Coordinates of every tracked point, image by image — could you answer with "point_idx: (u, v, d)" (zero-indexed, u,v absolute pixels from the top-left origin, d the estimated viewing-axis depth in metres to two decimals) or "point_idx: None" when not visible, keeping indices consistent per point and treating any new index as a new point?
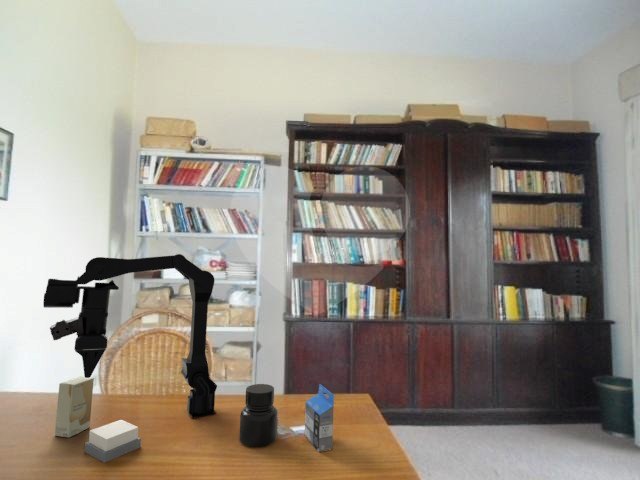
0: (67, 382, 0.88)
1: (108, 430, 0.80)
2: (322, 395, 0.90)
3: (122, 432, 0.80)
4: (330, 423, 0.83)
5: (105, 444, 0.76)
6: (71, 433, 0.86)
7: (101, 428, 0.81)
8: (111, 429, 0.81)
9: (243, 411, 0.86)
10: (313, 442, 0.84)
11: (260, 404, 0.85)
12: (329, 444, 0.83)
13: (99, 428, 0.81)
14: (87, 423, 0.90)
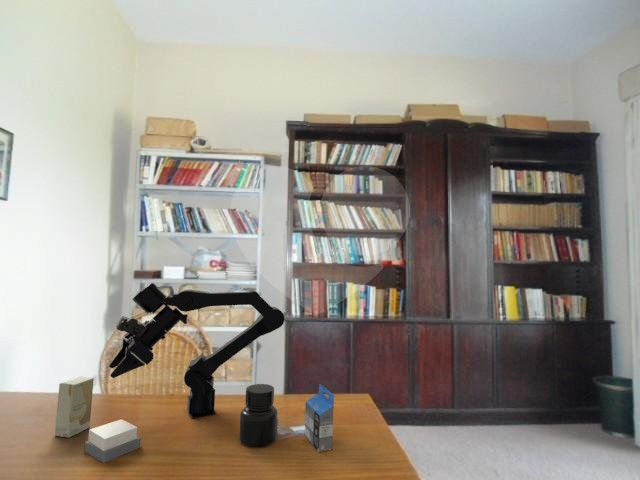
0: (67, 382, 0.88)
1: (107, 429, 0.80)
2: (322, 395, 0.90)
3: (121, 432, 0.79)
4: (330, 423, 0.83)
5: (103, 443, 0.76)
6: (71, 433, 0.86)
7: (101, 427, 0.81)
8: (111, 428, 0.81)
9: (243, 411, 0.86)
10: (313, 442, 0.84)
11: (260, 404, 0.85)
12: (329, 444, 0.83)
13: (99, 427, 0.81)
14: (87, 423, 0.90)
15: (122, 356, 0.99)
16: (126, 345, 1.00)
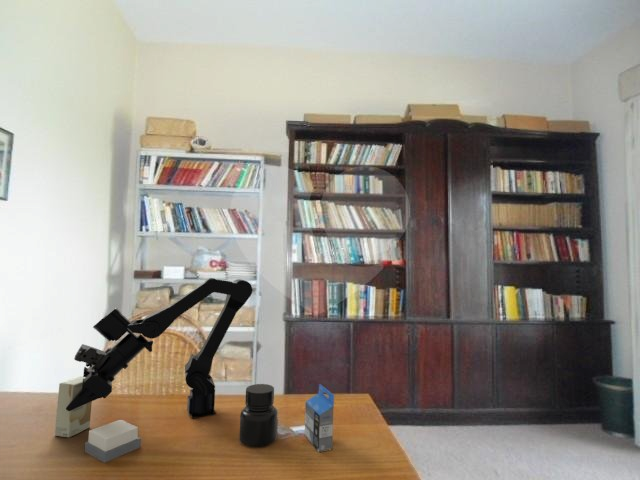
0: (67, 382, 0.88)
1: (107, 430, 0.80)
2: (322, 395, 0.90)
3: (122, 432, 0.79)
4: (330, 423, 0.83)
5: (105, 444, 0.76)
6: (71, 433, 0.86)
7: (101, 428, 0.81)
8: (111, 429, 0.81)
9: (243, 411, 0.86)
10: (313, 442, 0.84)
11: (260, 404, 0.85)
12: (329, 444, 0.83)
13: (99, 428, 0.81)
14: (87, 423, 0.90)
15: None
16: (87, 375, 0.94)
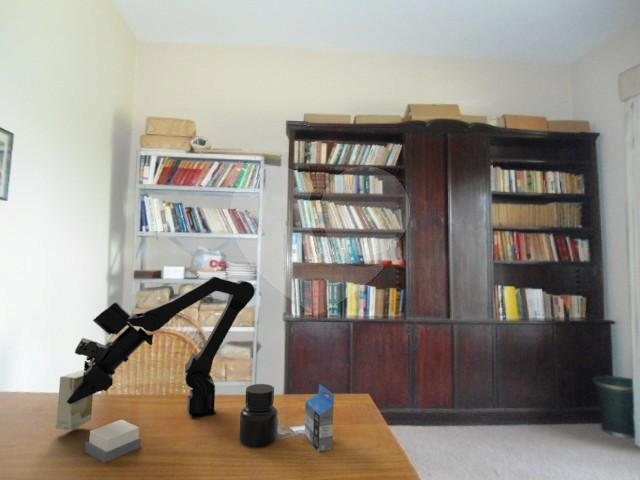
0: (68, 375, 0.88)
1: (108, 430, 0.80)
2: (322, 395, 0.90)
3: (123, 432, 0.79)
4: (330, 423, 0.83)
5: (106, 444, 0.76)
6: (72, 426, 0.86)
7: (102, 428, 0.81)
8: (112, 429, 0.81)
9: (243, 411, 0.86)
10: (313, 442, 0.84)
11: (260, 404, 0.85)
12: (329, 444, 0.83)
13: (100, 428, 0.81)
14: (88, 416, 0.90)
15: None
16: (88, 369, 0.94)
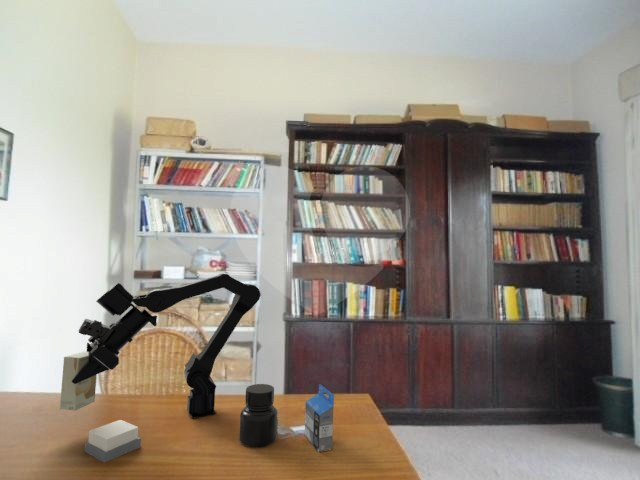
0: (72, 356, 0.87)
1: (108, 430, 0.80)
2: (322, 395, 0.90)
3: (122, 432, 0.80)
4: (330, 423, 0.83)
5: (105, 444, 0.76)
6: (77, 407, 0.85)
7: (101, 428, 0.81)
8: (111, 429, 0.81)
9: (243, 411, 0.86)
10: (313, 442, 0.84)
11: (260, 404, 0.85)
12: (329, 444, 0.83)
13: (99, 428, 0.81)
14: (92, 397, 0.89)
15: None
16: (91, 350, 0.93)
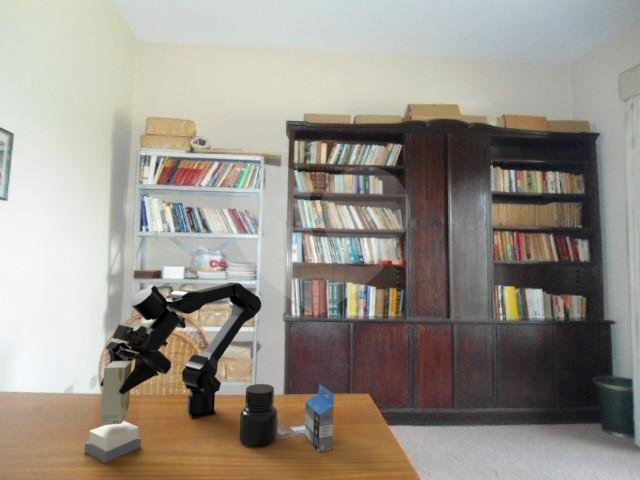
0: (112, 366, 0.80)
1: (108, 430, 0.80)
2: (322, 395, 0.90)
3: (122, 432, 0.79)
4: (330, 423, 0.83)
5: (106, 444, 0.76)
6: (122, 419, 0.79)
7: (101, 428, 0.81)
8: (111, 429, 0.81)
9: (243, 411, 0.86)
10: (313, 442, 0.84)
11: (260, 404, 0.85)
12: (329, 444, 0.83)
13: (99, 428, 0.81)
14: (127, 408, 0.84)
15: None
16: (117, 358, 0.86)
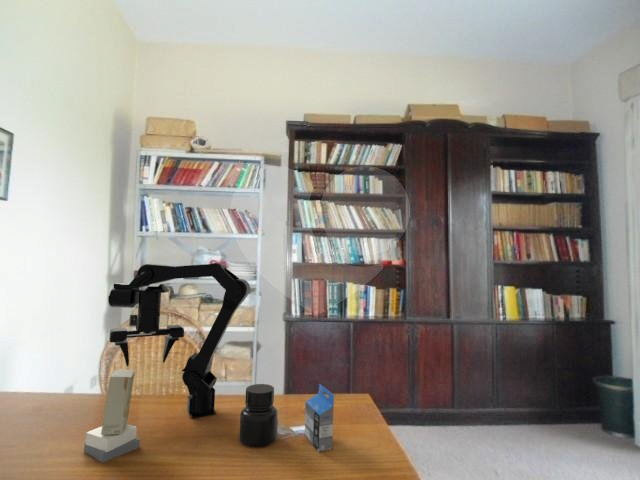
0: (117, 375, 0.80)
1: None
2: (322, 395, 0.90)
3: None
4: (330, 423, 0.83)
5: (106, 444, 0.76)
6: (123, 429, 0.79)
7: (98, 430, 0.80)
8: None
9: (243, 411, 0.86)
10: (313, 442, 0.84)
11: (260, 404, 0.85)
12: (329, 444, 0.83)
13: (96, 430, 0.80)
14: (127, 418, 0.83)
15: (164, 349, 1.05)
16: (165, 339, 1.06)
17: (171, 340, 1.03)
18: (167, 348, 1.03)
